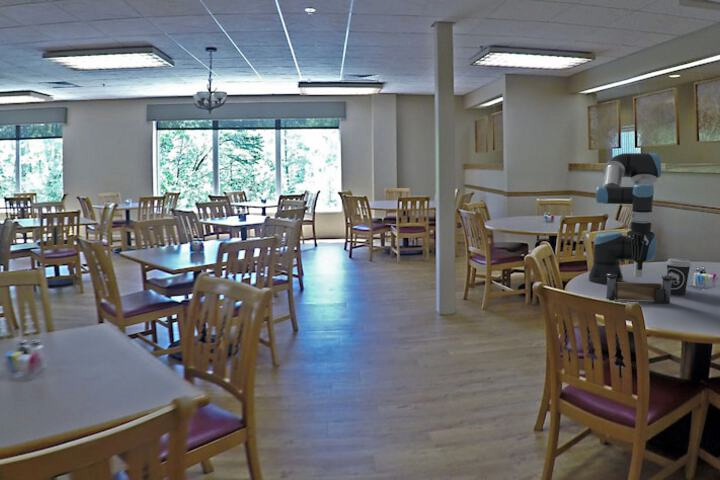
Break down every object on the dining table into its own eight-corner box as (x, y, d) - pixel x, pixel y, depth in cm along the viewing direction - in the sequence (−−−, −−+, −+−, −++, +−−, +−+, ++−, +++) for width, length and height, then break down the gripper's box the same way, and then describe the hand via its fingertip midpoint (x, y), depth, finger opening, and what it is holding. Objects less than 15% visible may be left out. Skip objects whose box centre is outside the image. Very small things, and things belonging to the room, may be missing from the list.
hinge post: (604, 298, 234) (605, 273, 233) (614, 298, 233) (616, 273, 232) (606, 300, 230) (607, 275, 229) (616, 301, 229) (618, 275, 228)
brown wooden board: (614, 298, 232) (615, 281, 231) (659, 300, 228) (660, 283, 227) (615, 299, 231) (616, 282, 229) (660, 301, 227) (661, 284, 225)
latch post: (651, 300, 230) (653, 274, 228) (669, 301, 228) (671, 275, 226) (654, 303, 225) (656, 277, 224) (672, 304, 224) (674, 278, 222)
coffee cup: (692, 297, 234) (695, 262, 232) (667, 296, 236) (670, 261, 234) (684, 291, 244) (686, 258, 241) (660, 290, 245) (662, 257, 243)
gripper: (625, 219, 237) (621, 273, 242) (639, 224, 224) (636, 280, 229) (642, 219, 237) (639, 272, 241) (658, 223, 224) (654, 280, 229)
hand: (637, 276), depth 235 cm, fingers closed
